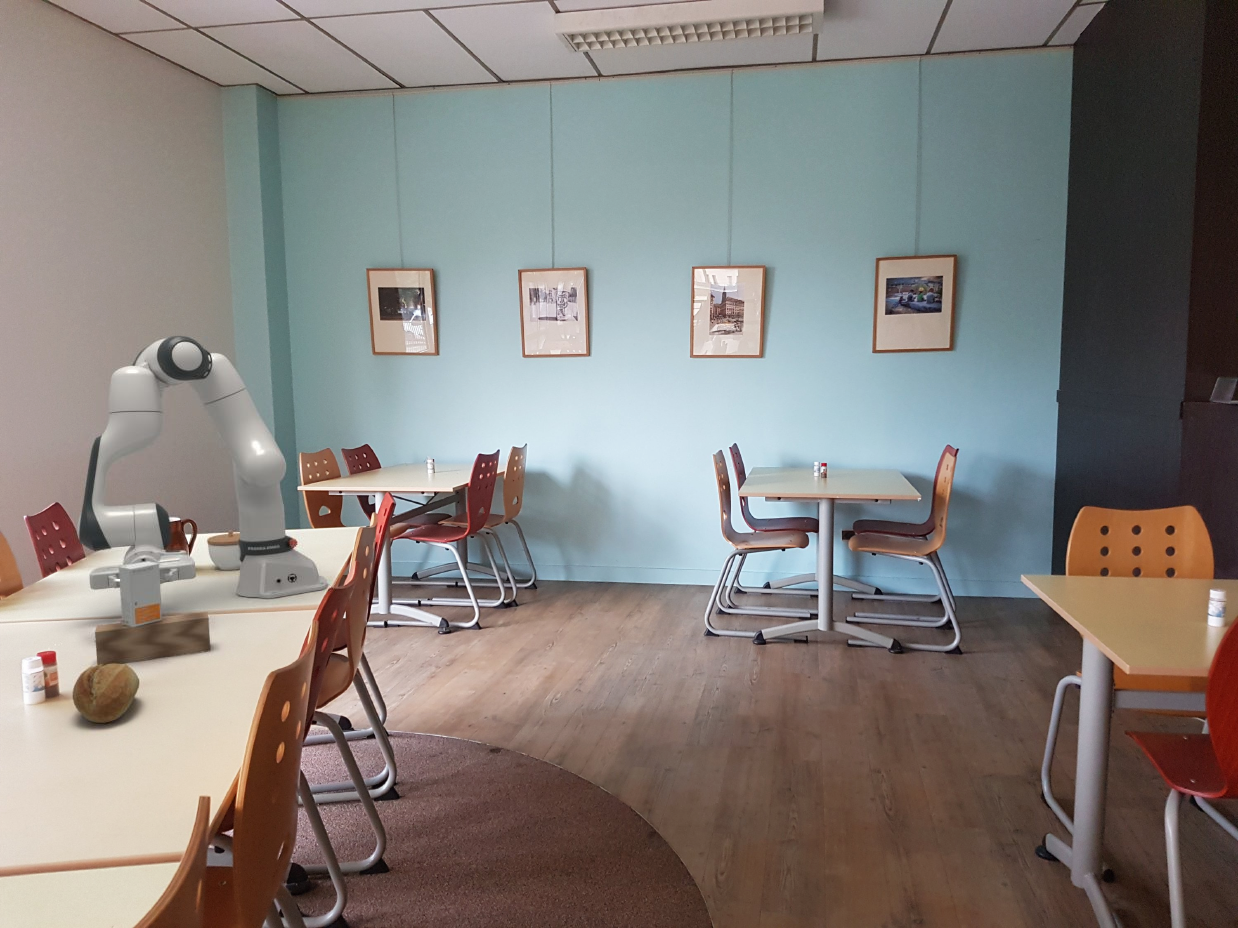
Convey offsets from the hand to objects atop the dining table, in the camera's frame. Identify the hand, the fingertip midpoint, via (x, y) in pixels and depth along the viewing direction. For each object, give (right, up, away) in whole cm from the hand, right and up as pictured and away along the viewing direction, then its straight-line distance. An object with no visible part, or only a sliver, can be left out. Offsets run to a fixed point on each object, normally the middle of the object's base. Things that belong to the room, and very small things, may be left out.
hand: (143, 581), depth 178 cm
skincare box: (+5, -8, -8) cm, 12 cm away
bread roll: (+14, -18, -35) cm, 42 cm away
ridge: (+6, -14, -7) cm, 17 cm away
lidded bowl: (-14, -6, +71) cm, 72 cm away
